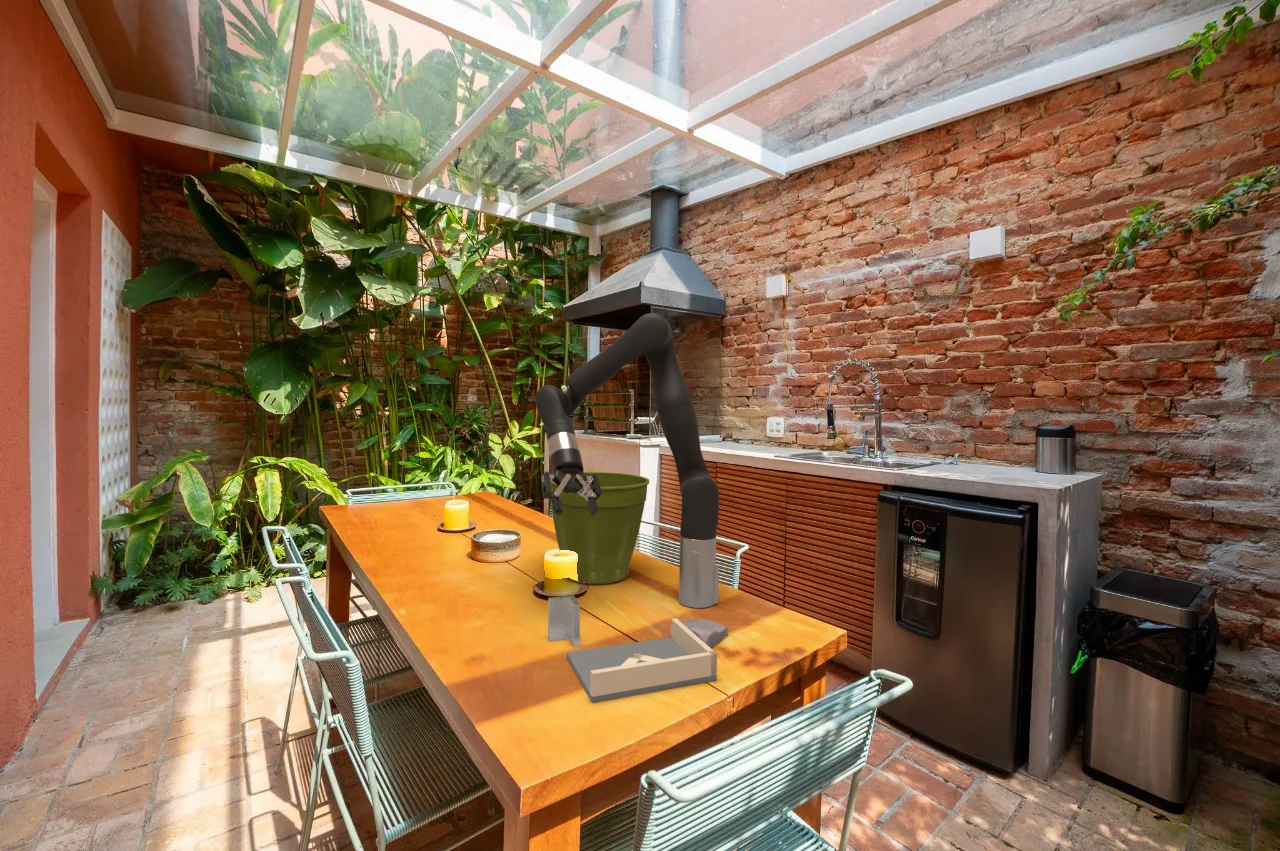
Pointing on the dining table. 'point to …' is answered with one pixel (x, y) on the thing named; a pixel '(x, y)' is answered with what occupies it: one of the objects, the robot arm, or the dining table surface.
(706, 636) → the stone block
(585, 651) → the arena
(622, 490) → the plant pot
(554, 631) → the bracket
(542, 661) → the dining table surface
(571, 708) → the dining table surface
